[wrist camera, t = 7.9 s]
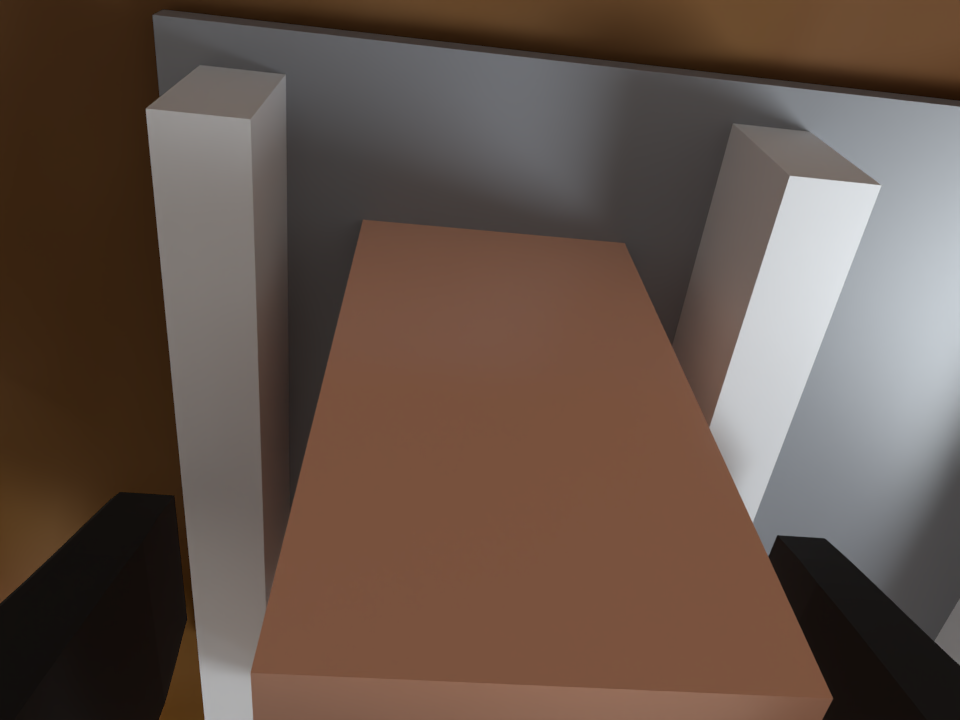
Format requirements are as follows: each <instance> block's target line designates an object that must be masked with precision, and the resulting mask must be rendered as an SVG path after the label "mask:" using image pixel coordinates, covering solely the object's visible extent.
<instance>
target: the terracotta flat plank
mask: <svg viewBox="0 0 960 720" xmlns="http://www.w3.org/2000/svg"><path fill="white" fill-rule="evenodd" d="M250 674H251V691H252V709H253V720H822V719H823V717H824V715H825V713H826V712H827V710H828V708H829V706H830V704H831V702H832V700H833V697H832V695H831V693H830V691H829V688H828V686H827V684H826V682H825V680H824V677H823V675H822V673H821V671H820V669H819V667H818V664H817V662H816V660H815V658H814V656H813V653H812V651H811V649H810V647H809V645H808V642H807V640H806V638H805V636H804V634H803V632H802V629H801V627H800V625H799V623H798V621H797V618H796V616H795V614H794V612H793V610H792V608H791V605H790V603H789V601H788V599H787V597H786V594H785V592H784V590H783V588H782V586H781V584H780V581H779V579H778V577H777V575H776V573H775V570H774V568H773V566H772V564H771V562H770V559H769V557H768V555H767V553H766V551H765V549H764V546H763V544H762V542H761V540H760V538H759V535H758V533H757V531H756V529H755V527H754V525H753V522H752V520H751V518H750V516H749V514H748V511H747V509H746V507H745V505H744V503H743V500H742V498H741V496H740V494H739V492H738V490H737V487H736V485H735V483H734V481H733V479H732V476H731V474H730V472H729V470H728V468H727V466H726V463H725V461H724V459H723V457H722V455H721V452H720V450H719V448H718V446H717V444H716V442H715V439H714V437H713V435H712V433H711V431H710V428H709V426H708V424H707V422H706V420H705V417H704V415H703V413H702V411H701V409H700V407H699V404H698V402H697V400H696V398H695V396H694V393H693V391H692V389H691V387H690V385H689V383H688V380H687V378H686V376H685V374H684V372H683V369H682V367H681V365H680V363H679V361H678V358H677V356H676V354H675V352H674V350H673V348H672V345H671V343H670V341H669V339H668V337H667V334H666V332H665V330H664V328H663V326H662V324H661V321H660V319H659V317H658V315H657V313H656V310H655V308H654V306H653V304H652V302H651V300H650V297H649V295H648V293H647V291H646V289H645V286H644V284H643V282H642V280H641V278H640V275H639V273H638V271H637V269H636V267H635V265H634V262H633V260H632V258H631V256H630V254H629V251H628V249H627V247H626V245H625V243H618V242H607V241H596V240H584V239H573V238H562V237H551V236H540V235H529V234H518V233H507V232H495V231H484V230H473V229H462V228H451V227H440V226H429V225H417V224H406V223H395V222H384V221H373V220H363V221H362V225H361V229H360V233H359V238H358V242H357V246H356V250H355V254H354V258H353V262H352V266H351V270H350V274H349V278H348V282H347V286H346V290H345V294H344V298H343V302H342V306H341V310H340V314H339V318H338V322H337V326H336V330H335V334H334V338H333V342H332V346H331V350H330V354H329V358H328V362H327V366H326V370H325V375H324V379H323V383H322V387H321V391H320V395H319V399H318V403H317V407H316V411H315V415H314V419H313V423H312V427H311V431H310V435H309V439H308V443H307V447H306V451H305V455H304V459H303V463H302V467H301V471H300V475H299V479H298V483H297V487H296V491H295V495H294V499H293V503H292V507H291V511H290V516H289V520H288V524H287V528H286V532H285V536H284V540H283V544H282V548H281V552H280V556H279V560H278V564H277V568H276V572H275V576H274V580H273V584H272V588H271V592H270V596H269V600H268V604H267V608H266V612H265V616H264V620H263V624H262V628H261V632H260V636H259V640H258V644H257V648H256V653H255V657H254V661H253V665H252V669H251V673H250Z"/></svg>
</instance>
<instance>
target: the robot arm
mask: <svg viewBox="0 0 960 720" xmlns="http://www.w3.org/2000/svg"><path fill="white" fill-rule="evenodd" d="M768 557H769V559H770V562H771V564H772V566H773V568H774V570H775V573H776V575H777V577H778V579H779V581H780V584H781V586H782V588H783V590H784V592H785V594H786V597H787V599H788V601H789V603H790V605H791V608H792V610H793V612H794V614H795V616H796V618H797V621H798V623H799V625H800V627H801V629H802V632H803V634H804V636H805V638H806V640H807V642H808V645H809V647H810V649H811V651H812V653H813V656H814V658H815V660H816V662H817V664H818V667H819V669H820V671H821V673H822V675H823V677H824V680H825V682H826V684H827V686H828V688H829V691H830V693H831V695H832V697H833V700H832V702H831V704H830V706H829V708H828V710H827V712H826V713H825V715H824V717H823V719H822V720H960V665H959V664H958V663H957V662H956V661H955V660H953V659H952V658H951V657H950V656H949V655H948V654H947V653H946V652H945V651H944V650H943V649H942V648H941V647H940V646H939V645H938V644H937V643H935V642H934V641H933V640H932V639H931V638H930V637H929V636H928V635H927V634H926V633H925V632H924V631H923V630H922V629H921V628H920V627H919V626H918V625H917V624H916V623H915V622H913V621H912V620H911V619H910V618H909V617H908V616H907V615H906V614H905V613H904V612H903V611H902V610H901V609H900V608H899V607H898V606H897V605H896V604H895V603H894V602H893V601H892V600H891V599H890V598H889V597H887V596H886V595H885V594H884V593H883V592H882V591H881V590H880V589H879V588H878V587H877V586H876V585H875V584H874V583H873V582H872V581H871V580H870V579H869V578H868V577H867V576H866V575H865V574H864V573H862V572H861V571H860V570H859V569H858V568H857V567H856V566H855V565H854V564H853V563H852V562H851V561H850V560H849V559H848V558H846V557H845V556H844V555H843V554H842V553H841V552H840V551H839V550H838V549H837V548H835V547H834V546H833V545H832V544H831V543H830V542H829V541H828V540H826V539H825V538H813V537H798V536H782V535H777V537H776V539H775V542H774V544H773V547H772V549H771V552H770V554H769V556H768ZM186 621H187V614H186V604H185V595H184V585H183V575H182V566H181V556H180V547H179V537H178V527H177V518H176V508H175V499H174V496H172V495H156V494H141V493H126V492H119V493H118V494H117V495H116V496H114V497H113V498H112V499H110V500H109V501H108V502H107V503H106V504H105V505H104V506H103V507H102V508H101V509H100V510H99V511H98V512H97V513H96V514H95V515H94V516H93V517H92V518H91V519H90V520H89V521H87V522H86V523H85V524H84V525H83V526H82V527H81V528H80V529H79V530H78V531H77V532H76V533H75V534H74V535H73V536H72V537H71V538H70V539H69V540H68V541H67V542H66V543H65V544H64V545H63V546H62V547H61V548H59V549H58V550H57V551H56V552H55V553H54V554H53V555H52V556H51V557H50V558H49V559H48V560H47V561H46V562H45V563H44V564H43V565H42V566H41V567H39V568H38V569H37V570H36V571H35V572H34V573H33V574H32V575H31V576H30V577H29V578H28V579H27V580H26V581H25V582H24V583H22V584H21V585H20V586H19V587H18V588H17V589H16V590H15V591H14V592H13V593H11V594H10V595H9V596H8V597H7V598H6V599H5V600H4V601H3V602H1V603H0V720H159V717H160V715H161V712H162V709H163V707H164V704H165V700H166V697H167V693H168V690H169V686H170V682H171V679H172V675H173V671H174V668H175V664H176V660H177V656H178V652H179V648H180V644H181V640H182V636H183V632H184V629H185V625H186Z"/></svg>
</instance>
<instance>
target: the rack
mask: <svg viewBox="0 0 960 720" xmlns="http://www.w3.org/2000/svg"><path fill="white" fill-rule="evenodd" d="M152 16H153V27H154V39H155V50H156V62H157V73H158V84H159V96H160V97H159V98H158V99H157V100H156V101H154V102H153V103H152V104H151V105H149V106H148V107H147V108H146V118H147V128H148V139H149V149H150V159H151V170H152V180H153V190H154V201H155V211H156V221H157V232H158V242H159V252H160V263H161V273H162V283H163V294H164V304H165V314H166V324H167V335H168V345H169V355H170V366H171V376H172V386H173V397H174V407H175V417H176V428H177V438H178V448H179V459H180V469H181V479H182V490H183V500H184V510H185V521H186V531H187V541H188V552H189V562H190V572H191V583H192V593H193V603H194V614H195V624H196V634H197V644H198V655H199V665H200V675H201V686H202V696H203V706H204V717H205V720H253V709H252V691H251V674H250V673H251V669H252V665H253V661H254V657H255V653H256V648H257V644H258V640H259V636H260V632H261V628H262V624H263V620H264V616H265V612H266V608H267V604H268V600H269V596H270V592H271V588H272V584H273V580H274V576H275V572H276V568H277V564H278V560H279V556H280V552H281V548H282V544H283V540H284V536H285V532H286V528H287V524H288V520H289V516H290V511H291V507H292V503H293V499H294V495H295V491H296V487H297V483H298V479H299V475H300V471H301V467H302V463H303V459H304V455H305V451H306V447H307V443H308V439H309V435H310V431H311V427H312V423H313V419H314V415H315V411H316V407H317V403H318V399H319V395H320V391H321V387H322V383H323V379H324V375H325V370H326V366H327V362H328V358H329V354H330V350H331V346H332V342H333V338H334V334H335V330H336V326H337V322H338V318H339V314H340V310H341V306H342V302H343V298H344V294H345V290H346V286H347V282H348V278H349V274H350V270H351V266H352V262H353V258H354V254H355V250H356V246H357V242H358V238H359V233H360V229H361V225H362V221H363V220H373V221H384V222H395V223H406V224H417V225H429V226H440V227H451V228H462V229H473V230H484V231H495V232H507V233H518V234H529V235H540V236H551V237H562V238H573V239H584V240H596V241H607V242H618V243H625V245H626V247H627V249H628V251H629V254H630V256H631V258H632V260H633V262H634V265H635V267H636V269H637V271H638V273H639V275H640V278H641V280H642V282H643V284H644V286H645V289H646V291H647V293H648V295H649V297H650V300H651V302H652V304H653V306H654V308H655V310H656V313H657V315H658V317H659V319H660V321H661V324H662V326H663V328H664V330H665V332H666V334H667V337H668V339H669V341H670V343H671V345H672V348H673V350H674V352H675V354H676V356H677V358H678V361H679V363H680V365H681V367H682V369H683V372H684V374H685V376H686V378H687V380H688V383H689V385H690V387H691V389H692V391H693V393H694V396H695V398H696V400H697V402H698V404H699V407H700V409H701V411H702V413H703V415H704V417H705V420H706V422H707V424H708V426H709V428H710V431H711V433H712V435H713V437H714V439H715V442H716V444H717V446H718V448H719V450H720V452H721V455H722V457H723V459H724V461H725V463H726V466H727V468H728V470H729V472H730V474H731V476H732V479H733V481H734V483H735V485H736V487H737V490H738V492H739V494H740V496H741V498H742V500H743V503H744V505H745V507H746V509H747V511H748V514H749V516H750V518H751V520H752V522H753V525H754V527H755V529H756V531H757V533H758V535H759V538H760V540H761V542H762V544H763V546H764V549H765V551H766V553H767V555H768V556H769V554H770V552H771V549H772V547H773V544H774V542H775V539H776V537H777V535H782V536H798V537H813V538H825V539H826V540H828V541H829V542H830V543H831V544H832V545H833V546H834V547H835V548H837V549H838V550H839V551H840V552H841V553H842V554H843V555H844V556H845V557H846V558H848V559H849V560H850V561H851V562H852V563H853V564H854V565H855V566H856V567H857V568H858V569H859V570H860V571H861V572H862V573H864V574H865V575H866V576H867V577H868V578H869V579H870V580H871V581H872V582H873V583H874V584H875V585H876V586H877V587H878V588H879V589H880V590H881V591H882V592H883V593H884V594H885V595H886V596H887V597H889V598H890V599H891V600H892V601H893V602H894V603H895V604H896V605H897V606H898V607H899V608H900V609H901V610H902V611H903V612H904V613H905V614H906V615H907V616H908V617H909V618H910V619H911V620H912V621H913V622H915V623H916V624H917V625H918V626H919V627H920V628H921V629H922V630H923V631H924V632H925V633H926V634H927V635H928V636H929V637H930V638H931V639H932V640H933V641H934V642H935V643H937V644H938V645H939V646H940V647H941V648H942V649H943V650H944V651H945V652H946V653H947V654H948V655H949V656H950V657H951V658H952V659H953V660H955V661H956V662H957V663H958V664H959V665H960V101H958V100H949V99H940V98H931V97H923V96H914V95H905V94H896V93H888V92H879V91H870V90H862V89H853V88H844V87H835V86H827V85H818V84H809V83H801V82H792V81H783V80H774V79H766V78H757V77H748V76H739V75H731V74H722V73H713V72H705V71H696V70H687V69H678V68H670V67H661V66H652V65H644V64H635V63H626V62H617V61H609V60H600V59H591V58H582V57H574V56H565V55H556V54H548V53H539V52H530V51H521V50H513V49H504V48H495V47H487V46H478V45H469V44H460V43H452V42H443V41H434V40H425V39H417V38H408V37H399V36H391V35H382V34H373V33H364V32H356V31H347V30H338V29H330V28H321V27H312V26H303V25H295V24H286V23H277V22H268V21H260V20H251V19H242V18H234V17H225V16H216V15H207V14H199V13H190V12H181V11H173V10H164V9H163V10H161V11H159V12H157V13H155V14H153V15H152Z"/></svg>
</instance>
